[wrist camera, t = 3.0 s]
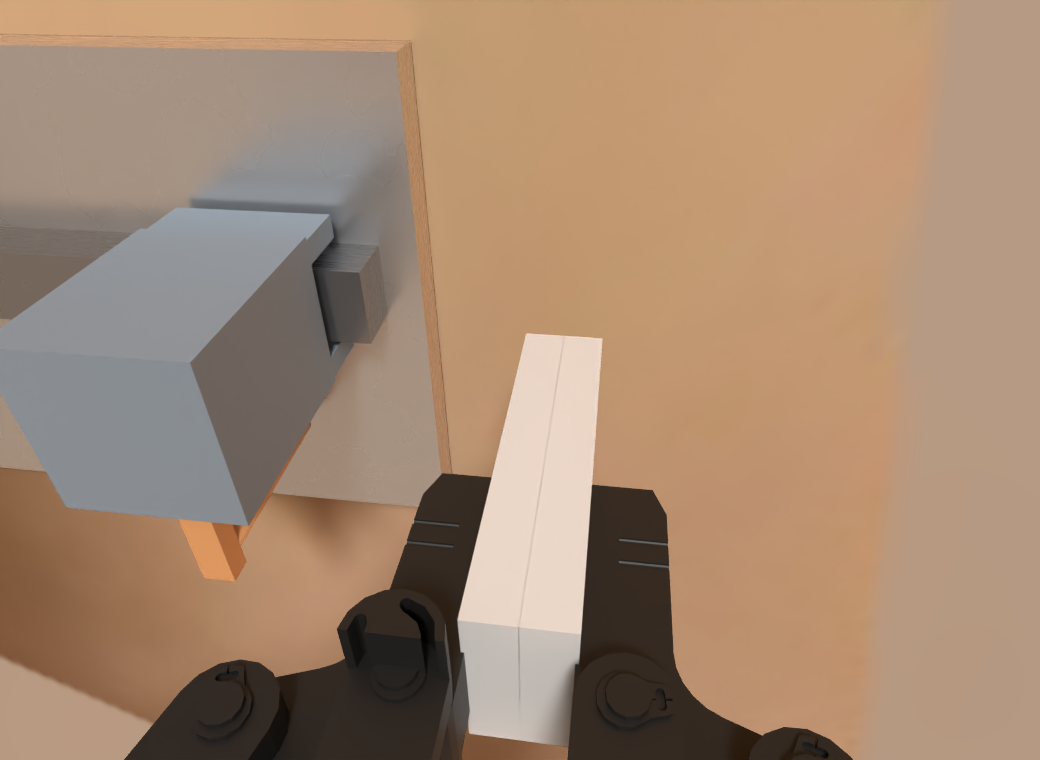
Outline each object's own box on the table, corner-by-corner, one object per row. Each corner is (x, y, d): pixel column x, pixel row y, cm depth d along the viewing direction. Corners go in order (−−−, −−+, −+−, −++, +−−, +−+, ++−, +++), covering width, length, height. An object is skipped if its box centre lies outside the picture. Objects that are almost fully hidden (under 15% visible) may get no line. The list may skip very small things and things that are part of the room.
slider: (174, 203, 17) (-26, 347, 12) (329, 210, 17) (189, 363, 11) (246, 425, 21) (121, 602, 16) (370, 435, 21) (283, 621, 16)
